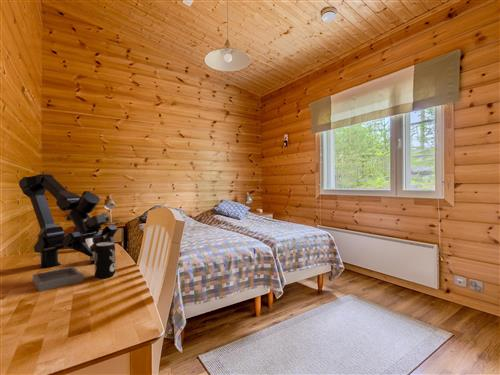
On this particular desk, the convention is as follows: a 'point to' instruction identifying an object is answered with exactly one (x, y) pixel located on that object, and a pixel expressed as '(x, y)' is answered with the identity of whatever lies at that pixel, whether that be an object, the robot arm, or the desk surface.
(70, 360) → the desk surface
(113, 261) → the beverage can
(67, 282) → the gray rectangular tray
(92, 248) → the ink bottle
